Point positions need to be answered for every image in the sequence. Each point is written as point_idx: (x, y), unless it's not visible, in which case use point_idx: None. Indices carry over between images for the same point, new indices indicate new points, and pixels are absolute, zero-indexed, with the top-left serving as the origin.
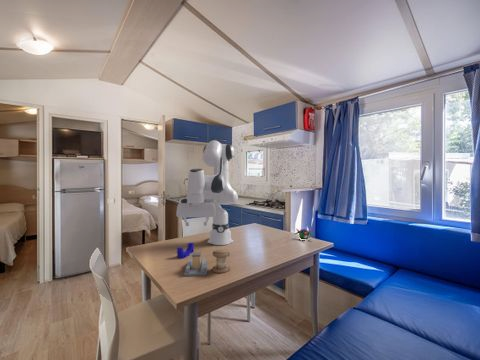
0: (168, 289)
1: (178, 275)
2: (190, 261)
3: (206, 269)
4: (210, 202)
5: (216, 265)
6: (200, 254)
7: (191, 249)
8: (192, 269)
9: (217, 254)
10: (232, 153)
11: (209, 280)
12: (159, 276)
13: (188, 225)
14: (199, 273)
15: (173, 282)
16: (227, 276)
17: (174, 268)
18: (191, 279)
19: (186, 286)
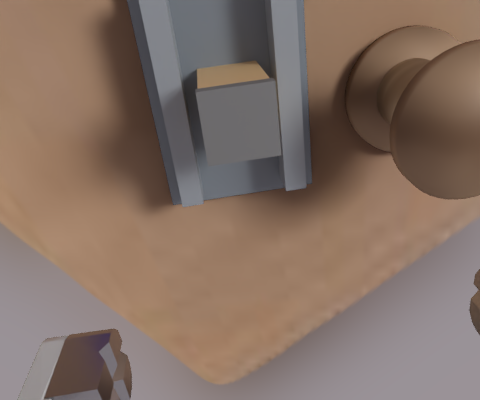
0: (147, 323)
1: (135, 189)
2: (175, 78)
3: (307, 129)
4: None
5: (384, 107)
6: (278, 126)
7: None
8: None
9: (436, 177)
10: None
11: (329, 235)
12: (19, 208)
13: (129, 374)
14: (269, 189)
15: (142, 266)
16: None
17: (53, 80)
18: (230, 231)
19: (223, 295)
